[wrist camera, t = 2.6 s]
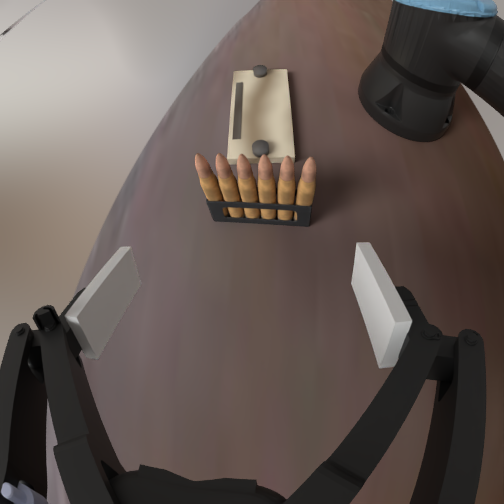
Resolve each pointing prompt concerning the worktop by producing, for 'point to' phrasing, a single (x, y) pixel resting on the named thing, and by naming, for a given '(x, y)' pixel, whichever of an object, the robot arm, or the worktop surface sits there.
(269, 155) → the plate
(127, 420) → the worktop surface
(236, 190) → the ammunition clip
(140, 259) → the worktop surface
